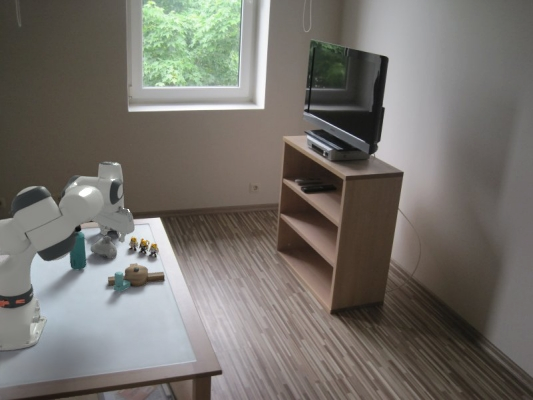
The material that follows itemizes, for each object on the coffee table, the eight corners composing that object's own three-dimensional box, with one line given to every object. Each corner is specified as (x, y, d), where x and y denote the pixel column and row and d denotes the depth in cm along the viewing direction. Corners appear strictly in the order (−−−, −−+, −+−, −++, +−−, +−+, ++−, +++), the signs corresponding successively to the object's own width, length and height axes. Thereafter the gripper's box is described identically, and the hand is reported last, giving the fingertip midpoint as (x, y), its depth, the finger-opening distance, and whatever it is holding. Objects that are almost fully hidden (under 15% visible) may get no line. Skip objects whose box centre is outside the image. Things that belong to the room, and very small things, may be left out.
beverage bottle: (89, 266, 242) (87, 222, 235) (83, 274, 236) (80, 229, 229) (74, 265, 242) (71, 221, 235) (67, 272, 236) (64, 227, 229)
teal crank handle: (124, 283, 229) (124, 268, 227) (130, 286, 228) (130, 270, 225) (113, 290, 224) (112, 274, 222) (119, 292, 223) (118, 276, 220)
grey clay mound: (122, 258, 256) (126, 239, 252) (104, 268, 246) (109, 249, 242) (101, 245, 260) (105, 226, 255) (82, 255, 250) (87, 235, 245)
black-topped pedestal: (77, 227, 279) (75, 201, 275) (131, 221, 290) (130, 196, 285) (86, 251, 256) (84, 223, 251) (144, 243, 266) (144, 217, 262)
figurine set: (131, 246, 262) (131, 233, 260) (161, 255, 256) (161, 242, 253) (126, 249, 259) (126, 236, 257) (156, 258, 253) (156, 245, 250)
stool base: (165, 284, 232) (165, 270, 230) (109, 289, 225) (108, 276, 223) (160, 266, 246) (159, 253, 244) (106, 271, 239) (106, 258, 237)
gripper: (137, 208, 209) (138, 242, 214) (99, 194, 220) (101, 228, 225) (124, 213, 204) (125, 248, 209) (86, 199, 215) (88, 233, 220)
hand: (112, 237), depth 217 cm, fingers open, 8 cm apart
